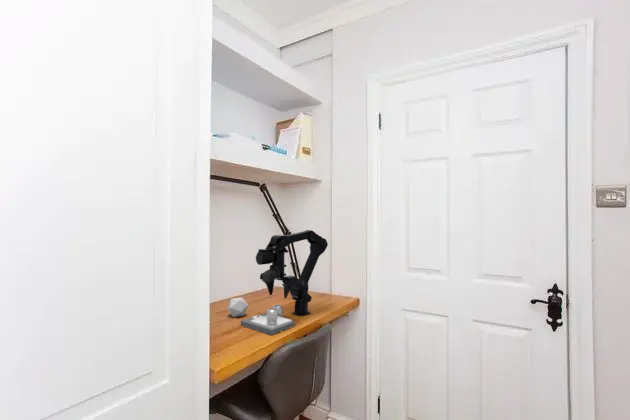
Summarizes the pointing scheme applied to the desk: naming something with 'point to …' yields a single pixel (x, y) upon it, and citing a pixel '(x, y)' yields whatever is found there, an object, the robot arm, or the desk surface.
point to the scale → (261, 324)
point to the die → (237, 307)
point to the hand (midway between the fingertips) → (278, 296)
